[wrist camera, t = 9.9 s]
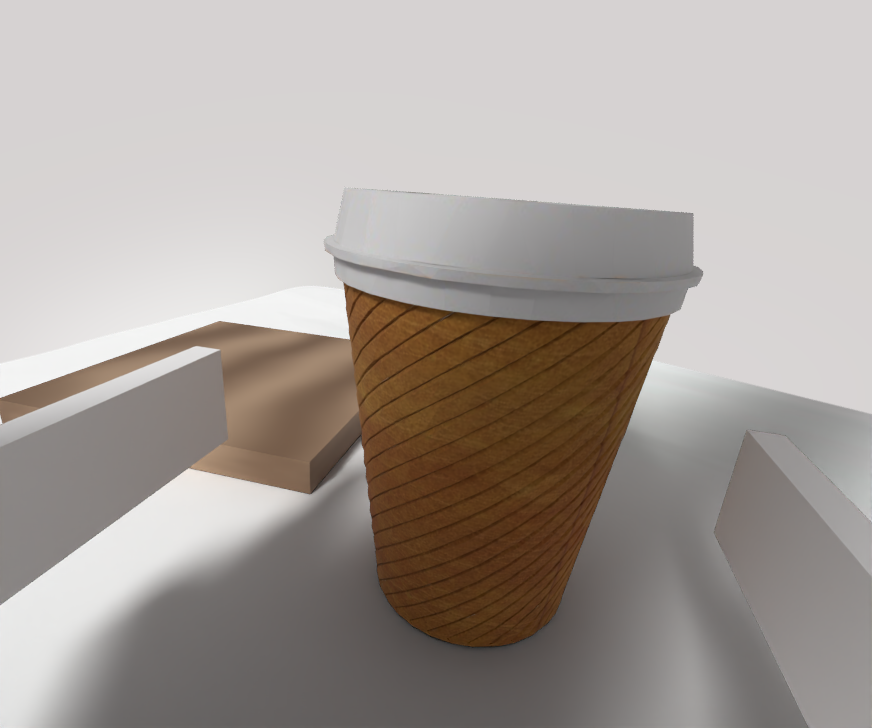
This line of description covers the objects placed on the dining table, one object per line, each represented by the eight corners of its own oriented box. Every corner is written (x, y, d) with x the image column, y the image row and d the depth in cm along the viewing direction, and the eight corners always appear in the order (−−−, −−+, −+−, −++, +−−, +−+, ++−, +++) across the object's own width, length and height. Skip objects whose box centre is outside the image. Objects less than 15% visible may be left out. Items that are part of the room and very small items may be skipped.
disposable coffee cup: (330, 492, 20) (328, 186, 16) (544, 482, 22) (591, 205, 18) (321, 733, 11) (312, 185, 7) (681, 682, 13) (836, 224, 9)
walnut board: (416, 369, 34) (417, 349, 34) (310, 493, 20) (309, 462, 19) (220, 339, 38) (219, 321, 37) (3, 428, 23) (-4, 399, 22)
